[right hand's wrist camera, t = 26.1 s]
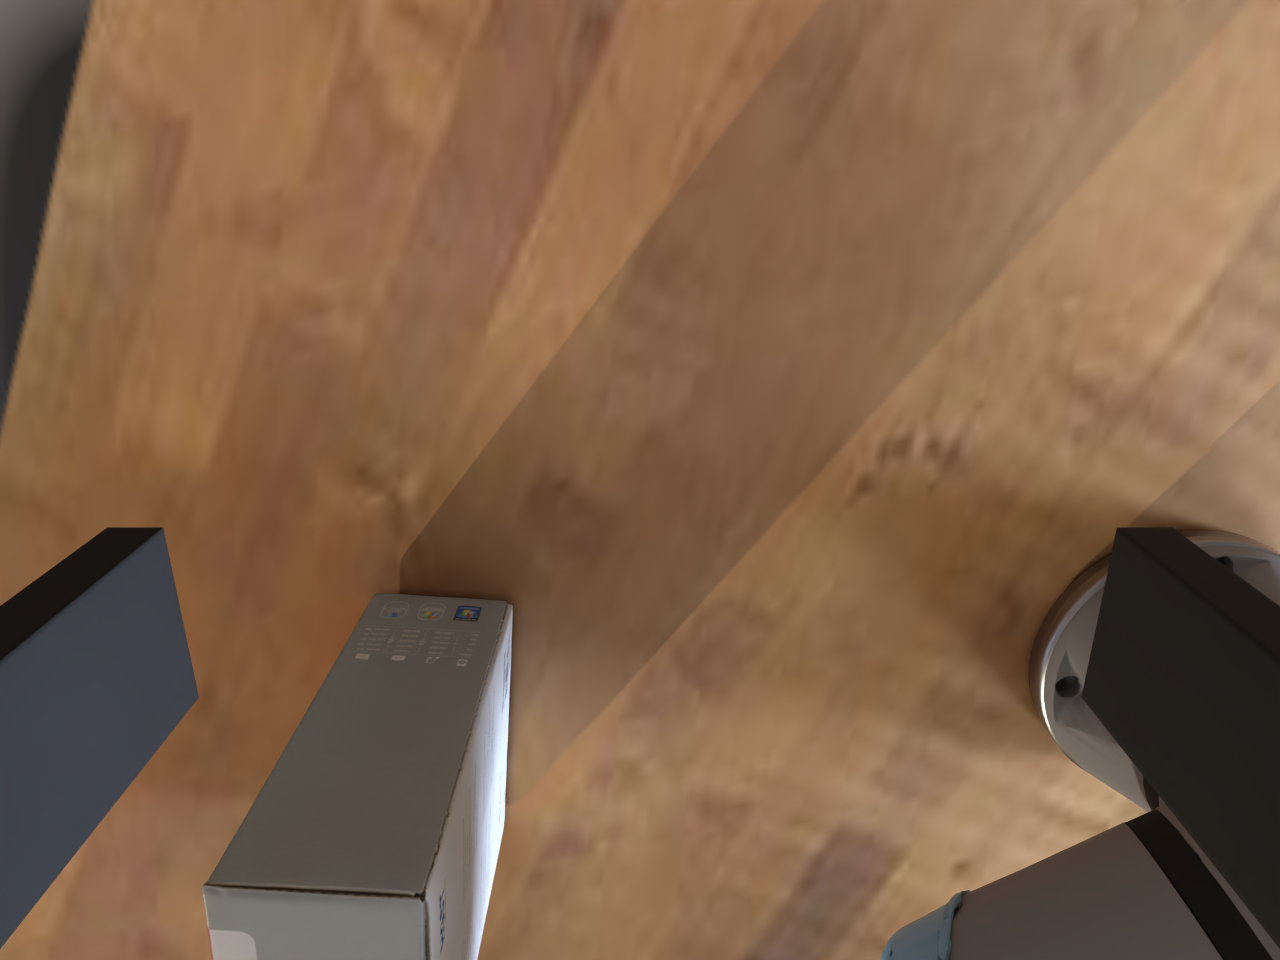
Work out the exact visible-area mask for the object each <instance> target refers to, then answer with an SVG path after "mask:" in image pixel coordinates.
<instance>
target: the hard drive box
mask: <svg viewBox="0 0 1280 960" xmlns="http://www.w3.org/2000/svg"><path fill="white" fill-rule="evenodd" d="M512 617H513V606H512V605H509V604H507V602H506V601H499V600H487V599H470V598H454V597H437V596H420V595H407V594H390V593H376V594H375V595H374V596H373V598H372V600H371V602H370V603H369V605H368V606H367V608H366V610H365V611H364V613H363V615H362V617H361V618H360V620H359V622H358V624H357V625H356V627H355V628H354V630H353V632H352V634H351V636H350V637H349V639H348V641H347V642H346V644H345V646H344V647H343V649H342V651H341V653H340V654H339V656H338V658H337V660H336V661H335V663H334V665H333V667H332V668H331V670H330V672H329V674H328V675H327V677H326V679H325V680H324V682H323V684H322V686H321V687H320V689H319V691H318V693H317V694H316V696H315V698H314V699H313V701H312V703H311V705H310V706H309V708H308V710H307V711H306V713H305V715H304V717H303V718H302V720H301V722H300V724H299V725H298V727H297V729H296V731H295V732H294V734H293V736H292V737H291V739H290V741H289V743H288V744H287V746H286V748H285V750H284V751H283V753H282V755H281V756H280V758H279V760H278V762H277V763H276V765H275V767H274V769H273V770H272V772H271V774H270V776H269V777H268V779H267V781H266V782H265V784H264V786H263V788H262V789H261V791H260V793H259V795H258V796H257V798H256V800H255V801H254V803H253V805H252V807H251V808H250V810H249V812H248V814H247V815H246V817H245V819H244V820H243V822H242V824H241V825H240V827H239V829H238V831H237V832H236V834H235V836H234V837H233V839H232V841H231V842H230V844H229V846H228V847H227V849H226V851H225V852H224V854H223V856H222V858H221V859H220V861H219V863H218V864H217V866H216V868H215V870H214V871H213V873H212V875H211V876H210V878H209V880H208V881H207V882H206V883H205V884H204V885H202V891H203V897H204V903H205V909H206V915H207V924H208V935H209V941H210V948H211V956H212V960H477V957H478V952H479V948H480V943H481V938H482V933H483V928H484V923H485V918H486V913H487V908H488V903H489V898H490V893H491V888H492V883H493V878H494V874H495V869H496V864H497V859H498V854H499V849H500V844H501V839H502V833H503V828H504V821H505V791H506V767H507V742H508V719H509V694H510V673H511V646H512Z"/></svg>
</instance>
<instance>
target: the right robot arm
mask: <svg viewBox="0 0 1280 960" xmlns="http://www.w3.org/2000/svg"><path fill="white" fill-rule="evenodd" d="M1029 685H1030V691H1031V696H1032V700H1033V703H1034V706H1035V709H1036V711H1037V713H1038V715H1039V717H1040V719H1041V721H1042V722H1043V724H1044V726H1045V727H1046V728H1047V730H1048V731H1049V733H1050V734H1051V736H1052V737H1053V739H1054V740H1055V742H1056V743H1057V744H1058V746H1059V747H1060V748H1061V750H1062V751H1063V752H1064V753H1065V754H1066V755H1067V756H1068V757H1069V758H1070V759H1071V760H1072V761H1073V762H1074V763H1075V764H1076V765H1078V766H1079V767H1080V768H1082V769H1083V770H1085V771H1086V772H1088V773H1089V774H1091V775H1092V776H1094V777H1096V778H1097V779H1099V780H1100V781H1102V782H1103V783H1105V784H1106V785H1108V786H1109V787H1111V788H1112V789H1114V790H1115V791H1117V792H1119V793H1120V794H1122V795H1123V796H1125V797H1126V798H1128V799H1129V800H1131V801H1132V802H1134V803H1135V804H1137V805H1139V806H1140V807H1142V808H1143V809H1145V810H1146V811H1148V813H1146V814H1143V815H1141V816H1139V817H1137V818H1135V819H1133V820H1130V821H1128V822H1125V823H1122V824H1120V825H1118V826H1115V827H1113V828H1111V829H1109V830H1107V831H1104V832H1102V833H1100V834H1098V835H1096V836H1094V837H1091V838H1089V839H1087V840H1085V841H1083V842H1081V843H1078V844H1076V845H1074V846H1072V847H1070V848H1068V849H1065V850H1063V851H1061V852H1059V853H1057V854H1055V855H1052V856H1050V857H1048V858H1046V859H1044V860H1042V861H1039V862H1037V863H1035V864H1033V865H1031V866H1029V867H1026V868H1024V869H1022V870H1020V871H1017V872H1015V873H1013V874H1010V875H1008V876H1006V877H1003V878H1001V879H999V880H997V881H994V882H992V883H990V884H987V885H985V886H983V887H980V888H978V889H976V890H973V891H969V890H967V891H962V892H960V893H956V894H955V895H954V896H953V897H952V898H951V900H950V901H949V902H948V903H947V904H945V905H944V906H942V907H940V908H938V909H936V910H935V911H933V912H931V913H929V914H927V915H926V916H924V917H922V918H920V919H918V920H916V921H914V922H912V923H910V924H908V925H906V926H904V927H903V928H901V929H900V930H898V931H897V932H896V933H895V934H894V935H893V936H892V937H891V938H890V940H889V941H888V942H887V944H886V946H885V948H884V950H883V953H882V956H881V960H1280V554H1278V553H1277V552H1275V551H1274V550H1272V549H1270V548H1269V547H1267V546H1265V545H1263V544H1262V543H1259V542H1257V541H1255V540H1252V539H1250V538H1247V537H1244V536H1241V535H1237V534H1233V533H1228V532H1223V531H1213V530H1189V531H1177V530H1175V529H1174V528H1117V530H1116V535H1115V539H1114V544H1113V549H1112V554H1111V555H1109V556H1107V557H1106V558H1104V559H1102V560H1101V561H1099V562H1098V563H1096V564H1095V565H1093V566H1092V567H1091V568H1089V569H1088V570H1087V571H1085V572H1084V573H1083V574H1082V575H1081V576H1080V577H1078V578H1077V579H1076V580H1075V581H1074V582H1073V583H1072V584H1071V585H1070V586H1069V587H1068V588H1067V589H1066V590H1065V591H1064V592H1063V593H1062V595H1061V596H1060V597H1059V598H1058V600H1057V601H1056V602H1055V603H1054V605H1053V606H1052V608H1051V609H1050V611H1049V612H1048V614H1047V616H1046V617H1045V619H1044V621H1043V623H1042V625H1041V627H1040V629H1039V632H1038V634H1037V636H1036V639H1035V642H1034V645H1033V649H1032V653H1031V658H1030V667H1029ZM198 697H199V696H198V691H197V687H196V682H195V677H194V672H193V668H192V663H191V658H190V653H189V649H188V644H187V639H186V634H185V630H184V625H183V620H182V615H181V611H180V606H179V601H178V596H177V592H176V587H175V582H174V577H173V573H172V568H171V563H170V558H169V554H168V549H167V544H166V539H165V535H164V530H163V528H106V529H105V530H103V531H102V532H101V533H99V534H98V535H97V536H95V537H94V538H93V539H91V540H90V541H88V542H87V543H86V544H84V545H83V546H82V547H80V548H79V549H78V550H76V551H75V552H73V553H72V554H71V555H69V556H68V557H67V558H65V559H64V560H63V561H61V562H60V563H58V564H57V565H56V566H54V567H53V568H52V569H50V570H49V571H48V572H46V573H45V574H43V575H42V576H41V577H39V578H38V579H37V580H35V581H34V582H33V583H31V584H30V585H28V586H27V587H26V588H24V589H23V590H22V591H20V592H19V593H18V594H16V595H15V596H13V597H12V598H11V599H9V600H8V601H7V602H5V603H4V604H3V605H1V606H0V949H1V947H2V946H3V945H4V944H5V942H6V941H7V940H8V938H9V937H10V936H11V935H12V933H13V932H14V931H15V930H16V928H17V927H18V926H19V924H20V923H21V922H22V921H23V919H24V918H25V917H26V916H27V914H28V913H29V912H30V911H31V909H32V908H33V907H34V905H35V904H36V903H37V902H38V900H39V899H40V898H41V897H42V895H43V894H44V893H45V891H46V890H47V889H48V888H49V886H50V885H51V884H52V883H53V881H54V880H55V879H56V878H57V876H58V875H59V874H60V872H61V871H62V870H63V869H64V867H65V866H66V865H67V864H68V862H69V861H70V860H71V859H72V857H73V856H74V855H75V853H76V852H77V851H78V850H79V848H80V847H81V846H82V845H83V843H84V842H85V841H86V839H87V838H88V837H89V836H90V834H91V833H92V832H93V831H94V829H95V828H96V827H97V826H98V824H99V823H100V822H101V820H102V819H103V818H104V817H105V815H106V814H107V813H108V812H109V810H110V809H111V808H112V806H113V805H114V804H115V803H116V801H117V800H118V799H119V798H120V796H121V795H122V794H123V793H124V791H125V790H126V789H127V787H128V786H129V785H130V784H131V782H132V781H133V780H134V779H135V777H136V776H137V775H138V773H139V772H140V771H141V770H142V768H143V767H144V766H145V765H146V763H147V762H148V761H149V760H150V758H151V757H152V756H153V754H154V753H155V752H156V751H157V749H158V748H159V747H160V746H161V744H162V743H163V742H164V741H165V739H166V738H167V737H168V735H169V734H170V733H171V732H172V730H173V729H174V728H175V727H176V725H177V724H178V723H179V721H180V720H181V719H182V718H183V716H184V715H185V714H186V713H187V711H188V710H189V709H190V708H191V706H192V705H193V704H194V702H195V701H196V700H197V699H198Z"/></svg>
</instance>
